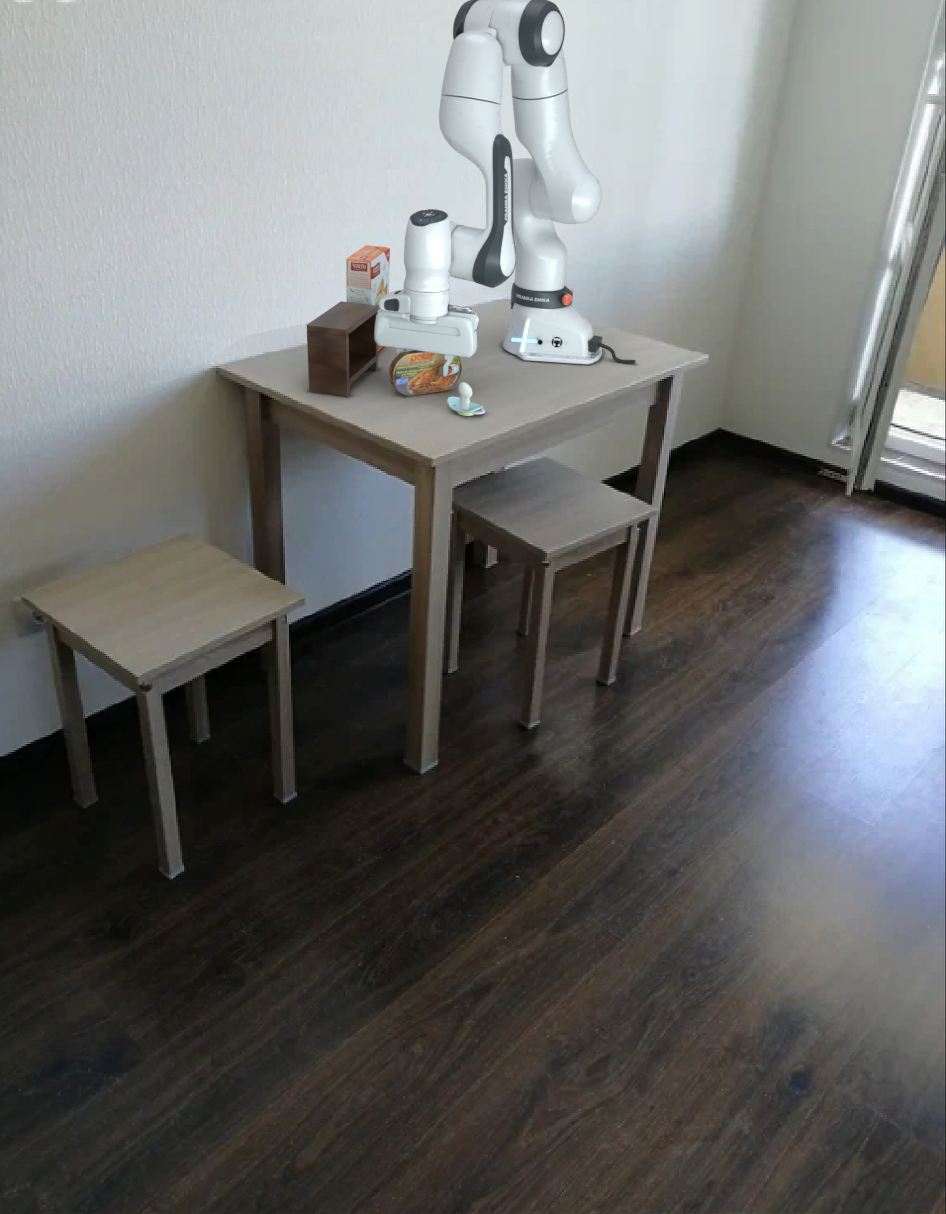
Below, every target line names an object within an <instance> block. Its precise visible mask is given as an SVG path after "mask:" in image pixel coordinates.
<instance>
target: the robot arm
mask: <svg viewBox="0 0 946 1214" xmlns="http://www.w3.org/2000/svg"><path fill="white" fill-rule="evenodd" d="M565 36H566V24H565V20H564V17H563V14H562V12H561V10H560V8H559V7H558V5H557V4H556V3H554V2H552V1H551V0H466V1H465V2H464V3H462V4H461V5H460V8H459V9H458V11H457V13H456V15H455V17H454V20H453V24H452V39H453V41H452V43H451V46H450V49H449V53H448V56H447V61H446V65H445V68H444V69H445V70H444V72H443V73H444V74H443V80H442V87H441V93H440V99H439V100H440V102H439V108H438V109H439V110H438V123H439V130H440V132H441V134H442V136H443V138H444V140H445V141H446V143H447V144H448V145H449V146H450V147H451V148H452V149H453V150H454V151H455V152H456V153H458V155H460V156H462V157H464V158H466V159H467V160H468V161H470V163H473V164H474V165H475V166H476V167H477V168H478V170H479V171H480V172H481V174H482V176H483V178H484V182H485V223H486V224H485V228H478V227H472V226H466V225H464V224H459V223H457V222H454V221H452V220H450V216H449V214H448V213H447V212H446V211H444V210H440V209H436V208H428V209H421V210H417V211H416V212H414V213H412V214H411V215H410V216H409V218H408V220H407V224H406V228H405V233H404V234H405V236H404V245H403V246H404V247H403V264H404V268H405V277H404V281H403V289H398V290H393V291H389V293H388V294H386V295H385V296H384V297H382V298H381V299H380V301H379V308H380V309H381V311H380V312H379V313H378V314H377V316H376V320H375V328H374V340H375V342H376V343H377V345H378V346H384V347H386V348H393V349H395V350H396V353H395V354H396V356H398V355H399V354H401V353H403V352H407V350H408V351H423V352H430V353H438V354H445V360H447V362H446V363H445V365H440V367H439V375H440V376H447V375H448V366H449V365H450V363H451V362H452V360H453V359H454V356H458V357H459V358H471V357H473V355H474V354H476V352H477V350H478V335H477V334H478V333H477V330H478V328H479V322H480V321H479V320H480V318H479V314H478V313H477V311H475V310H474V309H473V308H472V307H469V306H459V305H453V304H451V303H450V301H451V283H450V278H451V277H452V278H454V279H458V280H463V281H468V282H472V283H473V282H474V283H475V284H477V285H481V286H484V287H488V288H491V289H494V288H496V287H499V286H501V285H502V284H504V283H505V282H506V281H507V280H509V279H510V278H511V277H512V275H513V273H514V282H513V283H512V285H511V290H510V302H509V303H510V304H509V305H510V318H509V323H508V327H507V331H506V335H505V337H504V340H503V343H502V348H503V350H505V351H507V352H509V353H510V354H512V355H516V356H517V357H518V358H519V359H521V360H523V361H532V362H545V363H559V364H576V365H591V364H594V363H596V362H598V361H599V360H600V359H601V358H602V355H603V349H605V350H607V351H608V352H610V354H611V357H612V359H613V361H615V362H617V363H618V364H632V365H633V364H636V359H621V358H618V356H616V355H617V354H616V351H615V350H614V349H613V348H612V347H611V346H609V345H607V344H605V343H603V336H601V335H596V334H594V329H593V325H592V323H591V322H590V320H588V318H586V317H585V316H584V315H583V314H582V313H581V312H580V311H579V310H578V309H577V308H576V307H574V305H572V304H573V297H574V296H573V295H574V290H573V288H571V289H570V288H569V287H567V285H565V284H566V274H567V265H568V264H567V263H568V249H567V247H566V244H565V243H564V242H563V240H562V239H561V238H560V237H559V235H558V234H557V230H556V228H555V225H554V223H559V224H563V225H578V224H580V225H581V224H587V223H588V222H590V221H591V220H592V219H593V218H594V217H595V216H596V214H597V213H598V211H599V209H600V206H601V205H602V199H603V198H602V197H603V193H602V185H601V182H600V180H599V178H598V177H597V176H596V175H595V174H594V173H593V172H592V171H591V170H590V168H588V166H587V164H586V163H585V161H584V158H583V157H582V154H581V152H580V151H579V148H578V146H577V143H576V140H575V136H574V133H573V128H572V122H571V112H570V111H571V110H570V100H569V98H570V97H569V83H568V73H567V66H566V60H565V54H564V50H563V46H564V41H565ZM506 67H510V85H511V86H510V87H511V88H510V89H511V99H512V109H513V110H512V111H513V121H514V132H515V135H516V138H517V140H518V142H519V143H520V144H521V145H522V146H523V147H524V149H526V150H527V152H528V153H529V155H530V157H525V158H524V157H523V158H513V149H512V144H511V142H510V140H509V139H508V138H507V137H506V136H505V134H504V131H503V127H502V123H501V105H502V97H503V85H504V70H505V68H506ZM449 277H450V278H449Z"/></svg>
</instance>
